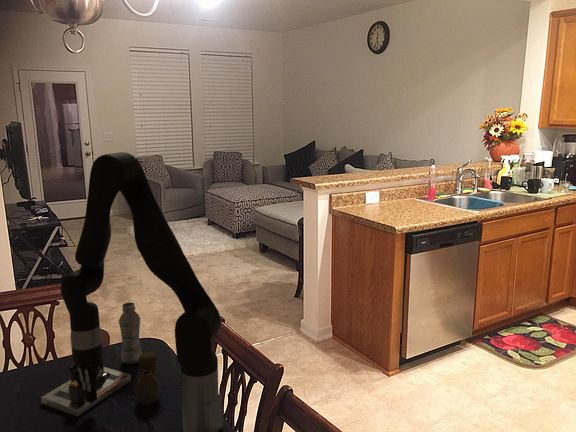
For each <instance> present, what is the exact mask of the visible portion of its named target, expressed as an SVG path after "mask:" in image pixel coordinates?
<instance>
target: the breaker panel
mask: <svg viewBox="0 0 576 432" xmlns="http://www.w3.org/2000/svg"><path fill="white" fill-rule="evenodd" d="M101 364H102V370H103V371H104V372H105V373H107V372H108V373H109V374H110V376H109V377H108V379H107V380H106V381H105V383H104V384H103V386H102V387H100V388H99V389H97V399H96V401H94V402H93V403H88V402H86V398H85V399H84V400H82V401H80V402H79V403H76V402H73V401H70V395H69V385H70V383H72V382H74V381H75V379H74V377H73V375H72V374H71V372H70V371H69V372H70V373H69V374H70V379H69V380H68V381H67V382H64V383H63V384H62V385H59V386H58V387H56V388H55V389H53V390H51V391H49V392H47V393H46V394H44V395H42V396H41V397H40V398H41V404H42V405H43V406H44V405H45V406H47V407H50V408H53V409H56V410H59V411H62V412H63V413H67V414H69V415H72V416H74V417H79V416H81V415H83V414H84V413H86V412H87V411H88V410H90V409H91V408H93V407H94V406H96V405H98V404H99V403H100V402H102V401H104V400H105V399H106V398H108V397H109V396H110V395H112V394H114V393H115V392H116V391H118V390H119V389H122V388H123V387H124V386H125V385H127V384H128V383H130V382H131V381H132V375H131V374H130V373H126V372H124V371H119V370H117V369H113V368H112V369H111V368H109V367H106V366H104V359H103V357H102V358H101ZM79 378H80V376H79Z"/></svg>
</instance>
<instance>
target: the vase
mask: <svg viewBox="0 0 576 432" xmlns="http://www.w3.org/2000/svg"><path fill="white" fill-rule="evenodd" d="M134 392H135V393H134V394H135V398H136V400H137V401H138V402H139V403H140V404H142V405H151V404H154V403H156V402H157V400H158V398H159V397H160V394H161V383H160V380H159V378H158V379H157V378H156V377H155V376H154V375H153V374H152V372H151V371H144V372H143V373H142V375H141V377H140V376H139V378H138V379H137V381H136V382H135V387H134Z"/></svg>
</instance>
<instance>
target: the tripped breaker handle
mask: <svg viewBox="0 0 576 432" xmlns="http://www.w3.org/2000/svg"><path fill="white" fill-rule="evenodd" d="M69 395H70V401H73V402H76V403H79V402H80V401H82V400H84V399H85V390H84V389H83V386H79V385H78V384H77V382H76V380H75V381H74V382H72V383H70V385H69Z"/></svg>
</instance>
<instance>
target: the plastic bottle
mask: <svg viewBox="0 0 576 432" xmlns="http://www.w3.org/2000/svg"><path fill="white" fill-rule="evenodd" d="M121 307H122V314H121V315H120V317H119V319H118V325H119V329H120V335H121V351H120V359H121V360H120V361H121V362H122V363H123V364H125V365H134V364H136V363H137V364H138V363H139V357H140V355H142V354H143V349H142V347H141V342H140V341H141V340H140V325H141V317H140V315H139V314H138V312H136V306H135V303H134V302H125V303H123V304H122V306H121Z"/></svg>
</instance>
